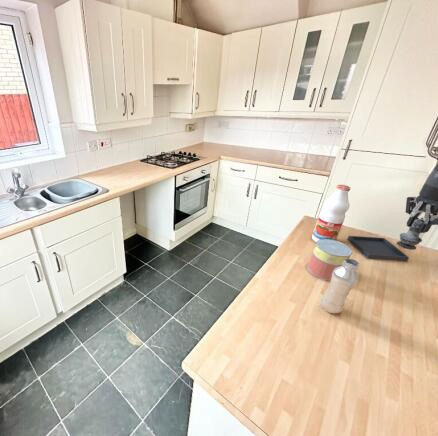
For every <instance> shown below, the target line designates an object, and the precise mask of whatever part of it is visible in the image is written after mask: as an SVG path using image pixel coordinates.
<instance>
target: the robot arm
mask: <svg viewBox="0 0 438 436" xmlns="http://www.w3.org/2000/svg"><path fill="white" fill-rule="evenodd" d="M405 202H406V203H405V204H406V205H405V213H406V214H408V215H409V217H408V220H407V222H406V227H408V228H409V227H410V226H412V224H413V222H414V221H415V220H416V219H420V218H419V217H420V216H422V214H423V213H424V217H423V218H424V219H423V220H424V223H423V224H422V225H421V227H420V229H419V231H418V232H420V234H425V233H428V232H429V231H430V229H431V228H432V226H438V161H437V162H436V163H435V165H434V167H433V169H432V170H431V171H430V173H429V174H428V176H427V178H426V179H425V181H424V183H423V185H422V187H421V188H420V190H419V192H418V196H407V197H406V201H405Z"/></svg>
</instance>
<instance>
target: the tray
mask: <svg viewBox="0 0 438 436" xmlns="http://www.w3.org/2000/svg"><path fill="white" fill-rule="evenodd" d="M347 240H348V241H349V242H350V243H351V244H352V245H353V246H354V247H355V248H356V249H357V250H358V251H359V252H360V253H361V254H362V255H363V256H364V257H365V258H366V259H372V260H385V261H386V260H387V261H397V262H398V261H399V262H408V261H409V259H410V256H408V255H407V254H405V253H404V252H403V251H402V250H401V249H399V248H398V247H397V246H395V245H394V244H393V243H391V242H390V241H389V240H388V239H386V238H385V237H378V236H377V237H376V236H359V235H358V236H356V235H348V238H347Z"/></svg>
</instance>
